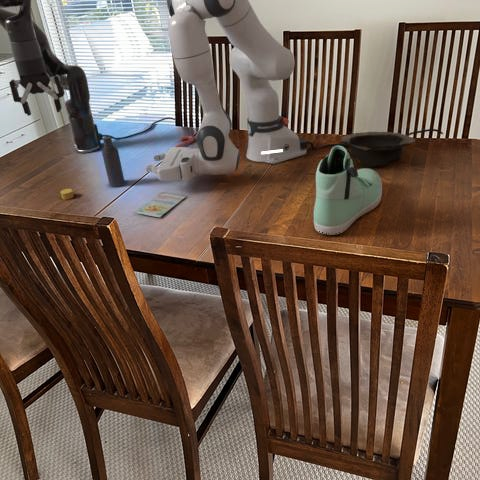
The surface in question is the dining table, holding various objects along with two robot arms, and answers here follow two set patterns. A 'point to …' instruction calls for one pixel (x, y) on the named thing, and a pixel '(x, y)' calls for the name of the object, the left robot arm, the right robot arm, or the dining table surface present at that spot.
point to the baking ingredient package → (160, 205)
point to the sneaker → (343, 192)
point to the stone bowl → (376, 147)
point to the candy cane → (185, 141)
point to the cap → (67, 194)
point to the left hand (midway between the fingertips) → (44, 113)
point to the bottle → (112, 163)
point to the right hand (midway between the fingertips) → (150, 163)
